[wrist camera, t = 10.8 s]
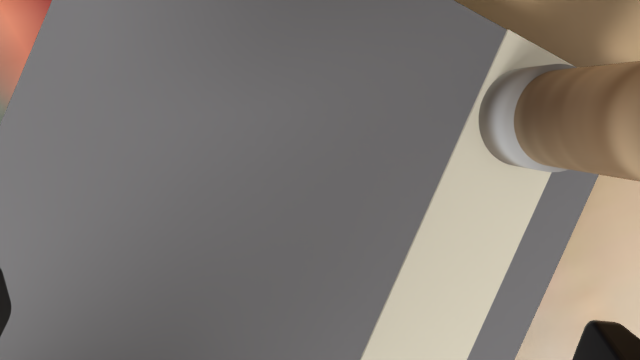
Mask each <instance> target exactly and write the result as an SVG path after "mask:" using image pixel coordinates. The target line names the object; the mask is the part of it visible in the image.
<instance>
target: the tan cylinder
mask: <svg viewBox="0 0 640 360" xmlns="http://www.w3.org/2000/svg"><path fill="white" fill-rule="evenodd" d="M479 130H480V134H481V137H482V140H483V142H484V144H485V146H486V148H487V149H488V150H489V152H490V153H491V154H492V155H493V156H494V157H496V158H497V159H498V160H500V161H502V162H503V163H506V164H509V165H513V166H518V167H523V168H529V169H534V170H540V171H545V172H561V171H566V170H568V169H569V170H575V171H581V172H587V173H593V174H599V175H605V176H611V177H617V178H623V179H629V180H635V181H640V61H637V62H627V63H618V64H608V65H599V66H589V67H580V68H577V67H574V66H571V65H567V64H550V65H542V66H534V67H526V68H519V69H514V70H511V71H508V72H506V73H505V74H503V75H501V76H500V77H498V78H497V79H496V80H495V81H494V82H493V83H492V84H491V86H490V87H489V88H488V90H487V91H486V93H485V95H484V97H483V99H482V102H481V105H480V110H479Z"/></svg>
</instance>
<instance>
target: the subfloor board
mask: <svg viewBox="0 0 640 360" xmlns="http://www.w3.org/2000/svg"><path fill="white" fill-rule="evenodd" d="M550 64H567V65H571V66H573V65H572V64H570V63H568V62H566V61H564V60H563V59H561V58H559V57H557V56H555V55H554V54H552V53H550V52H548V51H546V50H545V49H543V48H541V47H539V46H537V45H536V44H534V43H532V42H530V41H528V40H527V39H525V38H523V37H521V36H519V35H518V34H516V33H514V32H512V31H510V30H506V29H505V28H503V27H501V26H499V25H497V24H496V23H494V22H492V21H490V20H488V19H486V18H485V17H483V16H481V15H479V14H477V13H476V12H474V11H472V10H470V9H468V8H467V7H465V6H463V5H461V4H459V3H458V2H456V1H454V0H52V2H51V4H50V7H49V9H48V12H47V14H46V16H45V19H44V21H43V24H42V26H41V28H40V31H39V33H38V35H37V38H36V40H35V43H34V45H33V47H32V50H31V52H30V55H29V57H28V59H27V62H26V64H25V67H24V69H23V71H22V74H21V76H20V78H19V81H18V83H17V86H16V88H15V90H14V93H13V95H12V98H11V100H10V102H9V105H8V107H7V110H6V112H5V114H4V117H3V119H2V122H1V124H0V268H1V269H2V272H3V275H4V279H5V282H6V286H7V289H8V293H9V297H10V300H11V315H10V318H9V320H8V323H7V325H6V327H5V329H4V331H3V333H2V335H1V337H0V360H515V357H516V355H517V353H518V351H519V349H520V346H521V344H522V342H523V340H524V338H525V335H526V333H527V331H528V329H529V327H530V324H531V322H532V320H533V318H534V316H535V313H536V311H537V309H538V307H539V305H540V302H541V300H542V298H543V296H544V294H545V292H546V289H547V287H548V285H549V283H550V281H551V278H552V276H553V274H554V272H555V270H556V267H557V265H558V263H559V261H560V259H561V256H562V254H563V252H564V250H565V248H566V245H567V243H568V241H569V239H570V237H571V234H572V232H573V230H574V228H575V226H576V223H577V221H578V219H579V217H580V215H581V213H582V210H583V208H584V206H585V204H586V202H587V199H588V197H589V195H590V193H591V191H592V188H593V186H594V184H595V182H596V180H597V177H598V175H599V174H593V173H587V172H581V171H575V170H569V169H568V170H566V171H561V172H545V171H540V170H534V169H529V168H523V167H518V166H513V165H509V164H506V163H503V162H502V161H500V160H498V159H497V158H496V157H494V156H493V155H492V154H491V153H490V152H489V150H488V149H487V148H486V146H485V144H484V142H483V140H482V137H481V134H480V130H479V110H480V105H481V102H482V99H483V97H484V95H485V93H486V91H487V90H488V88H489V87H490V86H491V84H492V83H493V82H494V81H495V80H496V79H497V78H498V77H500V76H501V75H503V74H505V73H506V72H508V71H511V70H514V69H519V68H526V67H534V66H542V65H550ZM574 67H575V66H574Z"/></svg>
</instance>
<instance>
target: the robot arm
mask: <svg viewBox="0 0 640 360" xmlns="http://www.w3.org/2000/svg"><path fill="white" fill-rule="evenodd" d="M10 315H11V300H10V297H9V293H8V289H7V286H6V282H5V279H4V275H3V272H2V269H1V268H0V337H1V335H2V333H3V331H4V329H5V327H6V325H7V323H8V320H9V318H10ZM573 360H640V339H639V338H638V337H636V336H635V335H634V334H633V333H631V332H630V331H629V330H628V329H626V328H625V327H624V326H622V325H621V324H619V323H616V322H608V321H597V320H593V321H590V322H589V323H588V324H587V325H586V326H585V328H584V331H583V334H582V336H581V339H580V341H579V344H578V346H577V349H576V351H575V354H574V357H573Z"/></svg>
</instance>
